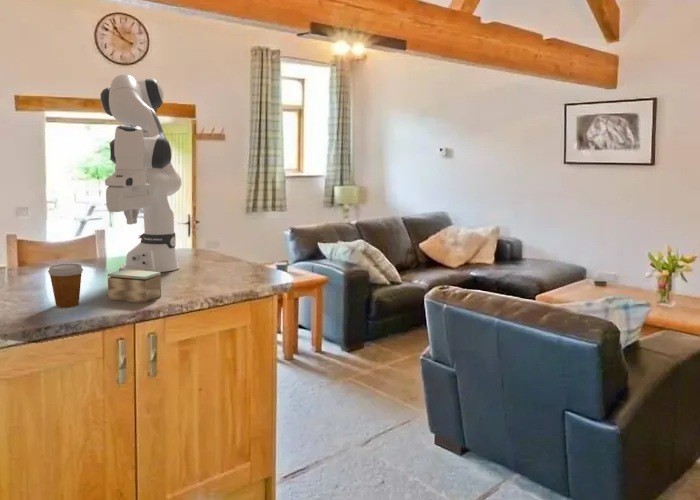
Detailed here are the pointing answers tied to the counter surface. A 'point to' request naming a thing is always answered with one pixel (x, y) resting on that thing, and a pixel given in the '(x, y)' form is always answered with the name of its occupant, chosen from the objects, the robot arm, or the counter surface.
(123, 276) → the lid
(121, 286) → the box
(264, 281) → the counter surface
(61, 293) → the disposable coffee cup
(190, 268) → the counter surface
